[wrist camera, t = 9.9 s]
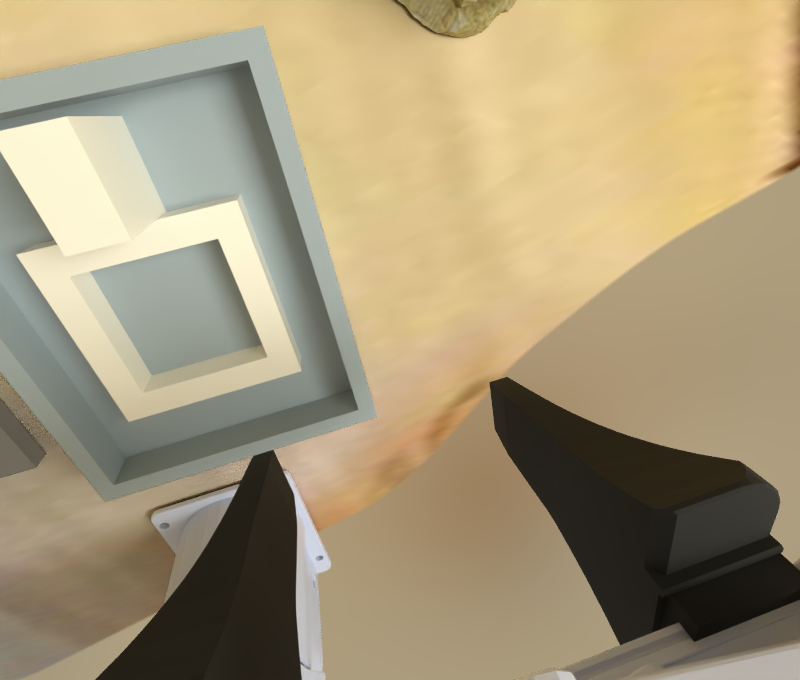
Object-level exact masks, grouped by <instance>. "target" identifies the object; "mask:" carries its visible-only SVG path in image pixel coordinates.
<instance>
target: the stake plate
mask: <svg viewBox="0 0 800 680" xmlns="http://www.w3.org/2000/svg"><path fill="white" fill-rule="evenodd" d="M45 454H46V453H45V451H44V450H43V449H42V448H41V447H40V445H39V444H38V443H37V442H36V441H35V439H34V438H33V437H32V436H31V435H30V433H29V432H28V431H27V430H26V429H25V428H24V426H23V425H22V424H21V423H20V422H19V420H18V419H17V418H16V417H15V416H14V414H13V413H12V412H11V411H10V410H9V408H8V407H7V406H6V405H5V404H4V403H3V401H2V400H1V399H0V478H2V477H5V476H9V475H12V474H15V473H19V472H22V471H26V470H29V469H32V468H36V467H37V465H38V464H39V462H40V461H41V460H42V458H43V457H44V455H45Z"/></svg>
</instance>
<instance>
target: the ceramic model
mask: <svg viewBox="0 0 800 680" xmlns="http://www.w3.org/2000/svg"><path fill="white" fill-rule="evenodd" d="M398 1H399V2H400V3H402V4H403V5H405V6H406V8H407V9H408V10H409V12H410V13H411V14H412V16H413V17H415V18H416V19H418V20H419V21H420V22H421V23H422V24H423V26H424V25H425V26H427V27H428V28H430V29H431V30H433V31H434V32H436V33H442V34H444V35H448V34H449V35H450V36H455V37H469V36H472V35H475V34H478V33H481V32H483V31H484V30H485V29H486V28H487V27H488V26H489V25H490V23H491V22H492V21H493V19H494V18H495V17H497V16H498V15H499V14H500V13H503V12H508V11H509V10H510V9H511V7H512V6H513V5H514V3H515V2H516V0H398Z"/></svg>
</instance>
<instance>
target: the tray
mask: <svg viewBox="0 0 800 680" xmlns="http://www.w3.org/2000/svg"><path fill="white" fill-rule="evenodd" d="M66 116H122V118H123V120H124V122H125V124H126V126H127V128H128V131H129V133H130V135H131V137H132V139H133V141H134V143H135V146H136V148H137V150H138V152H139V154H140V156H141V158H142V161H143V163H144V165H145V167H146V169H147V171H148V173H149V176H150V178H151V180H152V182H153V184H154V186H155V188H156V191H157V193H158V195H159V197H160V199H161V201H162V204H163V206H164V208H165V210H166V212H169V211H173V210H177V209H181V208H185V207H189V206H193V205H197V204H201V203H205V202H210V201H214V200H218V199H222V198H226V197H230V196H234V195H238V194H241V196H242V199H243V202H244V204H245V207H246V210H247V213H248V215H249V218H250V221H251V223H252V226H253V229H254V231H255V234H256V237H257V239H258V242H259V245H260V247H261V250H262V253H263V256H264V258H265V261H266V264H267V266H268V269H269V272H270V274H271V277H272V280H273V282H274V285H275V288H276V290H277V293H278V296H279V299H280V301H281V304H282V307H283V309H284V312H285V315H286V317H287V320H288V323H289V325H290V328H291V331H292V333H293V336H294V339H295V341H296V344H297V347H298V350H299V352H300V355H301V368H302V371H300V372H297V373H294V374H290V375H287V376H283V377H280V378H277V379H273V380H270V381H266V382H263V383H260V384H256V385H253V386H249V387H246V388H243V389H239V390H236V391H232V392H229V393H226V394H222V395H219V396H215V397H212V398H209V399H205V400H202V401H198V402H195V403H191V404H188V405H185V406H181V407H178V408H174V409H171V410H168V411H164V412H161V413H157V414H154V415H151V416H147V417H144V418H140V419H137V420H134V421H130V422H128V420H127V419H126V417H125V416H124V414H123V413H122V411H121V410H120V408H119V407H118V405H117V404H116V402H115V401H114V399H113V398H112V397H111V395H110V394H109V392H108V391H107V389H106V388H105V386H104V385H103V383H102V382H101V380H100V379H99V377H98V376H97V374H96V373H95V371H94V370H93V368H92V367H91V365H90V364H89V362H88V361H87V359H86V358H85V356H84V355H83V353H82V352H81V350H80V349H79V348H78V346H77V345H76V343H75V342H74V340H73V339H72V337H71V336H70V334H69V333H68V331H67V330H66V328H65V327H64V325H63V324H62V322H61V321H60V319H59V318H58V316H57V315H56V313H55V312H54V310H53V309H52V307H51V306H50V304H49V303H48V301H47V300H46V299H45V297H44V296H43V294H42V293H41V291H40V290H39V288H38V287H37V285H36V284H35V282H34V281H33V279H32V278H31V276H30V275H29V273H28V272H27V270H26V269H25V267H24V266H23V264H22V263H21V261H20V260H19V258H18V257H17V254H18V253H20V252H22V251H24V250H26V249H28V248H30V247H32V246H34V245H36V244H39V243H43V242H47V241H51V240H54V238H53V236H52V235H51V233H50V231H49V230H48V228H47V227H46V225H45V223H44V222H43V220H42V218H41V217H40V215H39V214H38V212H37V210H36V209H35V207H34V205H33V204H32V202H31V201H30V199H29V197H28V196H27V194H26V192H25V191H24V189H23V188H22V186H21V184H20V183H19V181H18V179H17V178H16V176H15V175H14V173H13V171H12V170H11V168H10V166H9V165H8V163H7V162H6V160H5V158H4V157H3V155H2V153H1V152H0V373H1V374H2V375H3V376H4V377H5V379H6V380H7V381H8V382H9V384H10V385H11V386H12V387H13V389H14V390H15V391H16V392H17V394H18V395H19V396H20V397H21V398H22V400H23V401H24V402H25V403H26V405H27V406H28V407H29V408H30V410H31V411H32V412H33V413H34V415H35V416H36V417H37V418H38V420H39V421H40V422H41V423H42V424H43V426H44V427H45V428H46V429H47V431H48V432H49V433H50V434H51V436H52V437H53V438H54V439H55V441H56V442H57V443H58V444H59V445H60V447H61V448H62V449H63V450H64V452H65V453H66V454H67V455H68V457H69V458H70V459H71V460H72V462H73V463H74V464H75V465H76V467H77V468H78V469H79V470H80V471H81V473H82V474H83V475H84V476H85V478H86V479H87V480H88V481H89V483H90V484H91V485H92V486H93V488H94V489H95V490H96V491H97V492H98V494H99V495H100V496H101V497H102V499H103V500H104V501H105V502H107V501H110V500H113V499H116V498H120V497H123V496H126V495H129V494H132V493H136V492H139V491H142V490H145V489H148V488H152V487H155V486H158V485H161V484H165V483H168V482H171V481H174V480H177V479H181V478H184V477H187V476H190V475H193V474H197V473H200V472H203V471H206V470H210V469H213V468H216V467H219V466H222V465H226V464H229V463H232V462H235V461H238V460H242V459H245V458H248V457H251V456H255V455H258V454H261V453H264V452H267V451H271V450H274V449H277V448H280V447H283V446H287V445H290V444H293V443H296V442H300V441H303V440H306V439H309V438H312V437H316V436H319V435H322V434H325V433H328V432H332V431H335V430H338V429H341V428H345V427H348V426H351V425H354V424H357V423H361V422H364V421H367V420H370V419H373V418H377V414H376V411H375V407H374V404H373V400H372V397H371V394H370V390H369V387H368V383H367V380H366V376H365V373H364V370H363V366H362V363H361V359H360V356H359V352H358V349H357V345H356V342H355V339H354V335H353V332H352V328H351V325H350V321H349V318H348V315H347V311H346V308H345V304H344V301H343V297H342V294H341V290H340V287H339V284H338V280H337V277H336V273H335V270H334V266H333V263H332V260H331V256H330V253H329V249H328V246H327V242H326V239H325V235H324V232H323V229H322V225H321V222H320V218H319V215H318V211H317V208H316V205H315V201H314V198H313V194H312V191H311V187H310V184H309V180H308V177H307V174H306V170H305V167H304V163H303V160H302V156H301V153H300V150H299V146H298V143H297V139H296V136H295V132H294V129H293V125H292V122H291V119H290V115H289V112H288V108H287V105H286V101H285V98H284V95H283V91H282V88H281V84H280V81H279V77H278V74H277V70H276V67H275V64H274V60H273V57H272V53H271V50H270V46H269V43H268V40H267V36H266V33H265V29H264V26H259V27H255V28H250V29H245V30H240V31H235V32H230V33H225V34H221V35H216V36H211V37H206V38H201V39H196V40H192V41H187V42H182V43H177V44H172V45H167V46H162V47H158V48H153V49H148V50H143V51H138V52H133V53H129V54H124V55H119V56H114V57H109V58H104V59H100V60H95V61H90V62H85V63H80V64H75V65H70V66H66V67H61V68H56V69H51V70H46V71H41V72H37V73H32V74H27V75H22V76H17V77H12V78H7V79H3V80H0V131H2V130H6V129H11V128H15V127H20V126H25V125H29V124H34V123H38V122H43V121H48V120H52V119H57V118H61V117H66ZM90 273H91V274H92V276H93V278H94V279H95V281H96V283H97V284H98V286H99V288H100V289H101V291H102V293H103V294H104V296H105V298H106V299H107V301H108V303H109V305H110V306H111V308H112V310H113V311H114V313H115V315H116V316H117V318H118V320H119V321H120V323H121V325H122V326H123V328H124V330H125V331H126V333H127V335H128V336H129V338H130V340H131V341H132V343H133V345H134V346H135V348H136V350H137V352H138V353H139V355H140V357H141V358H142V360H143V362H144V363H145V365H146V367H147V368H148V370H149V372H150V373H151V375H156V374H159V373H163V372H166V371H170V370H173V369H177V368H180V367H184V366H187V365H191V364H194V363H198V362H201V361H205V360H208V359H212V358H215V357H219V356H222V355H226V354H229V353H233V352H236V351H240V350H243V349H247V348H251V347H254V346H258V345H261V344H262V342H261V340H260V338H259V335H258V333H257V330H256V328H255V326H254V323H253V321H252V319H251V316H250V314H249V311H248V309H247V307H246V304H245V302H244V299H243V297H242V295H241V292H240V290H239V287H238V285H237V283H236V280H235V278H234V276H233V273H232V271H231V268H230V266H229V264H228V261H227V259H226V256H225V254H224V252H223V249H222V247H221V245H220V242H219V240H218V239H215V240H211V241H207V242H203V243H199V244H195V245H191V246H187V247H184V248H180V249H176V250H172V251H168V252H164V253H160V254H156V255H152V256H148V257H144V258H141V259H137V260H133V261H129V262H125V263H121V264H117V265H113V266H109V267H105V268H101V269H97V270H94V271H90Z"/></svg>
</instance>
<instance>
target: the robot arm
mask: <svg viewBox="0 0 800 680" xmlns="http://www.w3.org/2000/svg"><path fill="white" fill-rule="evenodd" d="M490 390H491V399H492V407H493V416H494V425H495V430H496V432H497V434H498V436H499V438H500V440H501V442H502V444H503V446H504V447H505V449H506V451H507V453H508V455H509V456H510V458H511V459H512V460H513V462H514V463H515V465H516V466H517V467H518V469H519V471H520V472H521V473H522V475H523V476H524V478H525V479H526V480H527V482H528V483H529V485H530V486H531V488H532V489H533V490H534V492H535V493H536V495H537V496H538V497H539V499H540V500H541V502H542V503H543V505H544V506H545V507H546V509H547V510H548V512H549V513H550V515H551V516H552V518H553V520H554V521H555V523H556V524H557V526H558V528H559V530H560V532H561V533H562V535H563V537H564V539H565V540H566V542H567V544H568V546H569V547H570V549H571V551H572V553H573V555H574V557H575V558H576V560H577V562H578V564H579V566H580V568H581V569H582V571H583V573H584V575H585V577H586V578H587V581H588V582H589V584H590V586H591V588H592V590H593V592H594V594H595V596H596V598H597V600H598V602H599V604H600V605H601V607H602V609H603V611H604V613H605V615H606V617H607V619H608V621H609V623H610V625H611V628H612V629H613V632H614V634H615V635H616V638H617V639H618V642H619V643H620V646H617V647H615V648H612V649H610V650H607V651H605V652H602V653H600V654H597V655H594V656H592V657H589V658H587V659H584V660H582V661H579V662H577V663H574V664H572V665H569V666H566V667H564V668H561V669H555V668H550V669H546V670H542V671H538V672H534V673H530V674H528V675H525V676H523V677H520V678H517V679H515V680H800V559H798V560H797V561H796V562H795V563H794V564H792V563H790V561H788V560H787V559H786V558H785V557H784V556H783V555H782V554H781V552H782V551H783V547H782V545H781V544H780V543H779V542H778V541H777V540H775V539H774V538H773V537H772V536H771V535H770V531H771V529H772V526H773V523H774V520H775V518H776V515H777V513H778V509H779V504H780V498H779V494H778V491H777V490H776V489H775V488H774V487H773V486H772V485H771V484H770V483H768V482H767V481H766V480H764V479H763V478H762V477H761V476H759V475H758V474H757V473H755V472H754V471H753V470H751V469H750V468H749V467H747V466H746V465H744V464H743V463H741V462H740V461H736V460H730V459H723V458H718V457H712V456H705V455H700V454H695V453H691V452H686V451H682V450H677V449H673V448H669V447H665V446H661V445H658V444H654V443H650V442H647V441H644V440H640V439H637V438H634V437H631V436H627V435H625V434H622V433H619V432H616V431H614V430H611V429H608V428H606V427H603V426H601V425H598V424H596V423H593V422H591V421H588V420H586V419H584V418H582V417H580V416H578V415H576V414H573V413H571V412H569V411H567V410H565V409H563V408H561V407H559V406H557V405H555V404H554V403H551V402H550V401H548V400H546V399H544V398H543V397H541V396H539V395H537V394H535V393H534V392H532V391H530V390H528V389H527V388H525V387H523V386H522V385H520V384H518V383H517V382H515V381H513V380H511V379H510V378H508V377H505V378H502V379H499V380H496V381H492V382H490ZM151 522H152V524H153V525H154V526H155V528H156V529H157V530H158V532H159V533H160V534H161V536H162V537H163V538H164V540H165V541H166V542H167V544H168V545H169V546H170V548H171V549H172V550H173V552H174V553H175V554H176V557H175V561H174V565H173V569H172V573H171V577H170V581H169V585H168V589H167V593H166V596H165V600H164V604H163V606H162V608H161V609H160V610H159V611H158V613H157V614H156V615H155V616H154V617H153V618H152V620H151V621H150V622H149V623H148V624H147V626H146V627H145V628H144V629H143V630H142V631H141V632H140V634H138V636H137V637H136V638H135V639H134V640H133V641H132V642H131V643H130V644H129V646H128V647H127V648H126V649H125V650H124V651H123V652H122V653H121V654H120V655H119V656H118V657H117V658H116V659H115V660H114V661H113V662H112V663H111V664H110V665H109V666H108V667H107V668H106V669H105V670H104V671H103V672H102V674H100V676H99V677H98V678H96V680H325V673H324V672H322V667H323V653H322V638H321V622H320V607H319V593H318V577H317V574H318V573H321V572H324V571H326V570H328V569H329V568H330V567H331V561H330V558H329V556H328V554H327V552H326V550H325V547H324V545H323V543H322V541H321V539H320V536H319V534H318V532H317V530H316V528H315V526H314V523H313V521H312V519H311V517H310V515H309V513H308V511H307V508H306V506H305V504H304V502H303V500H302V498H301V495H300V493H299V491H298V489H297V487H296V485H295V482H294V480H293V478H292V476H291V474H290V473H289V472H288V471H283V470H282V467H281V465H280V463H279V461H278V459H277V457H276V455H275V453H274V451H273V450H271V451H267V452H264V453H261V454H258V455H255V456H253V458H252V460H251V462H250V464H249V466H248V468H247V470H246V472H245V474H244V476H243V478H242V481H241V483H240V484H237V485H234V486H231V487H228V488H224V489H221V490H218V491H215V492H212V493H209V494H206V495H202V496H199V497H196V498H193V499H190V500H187V501H183V502H180V503H177V504H174V505H171V506H168V507H165V508H161V509H158V510H156V511H154V512H153V514H152V517H151ZM165 523H166V524H165Z"/></svg>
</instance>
